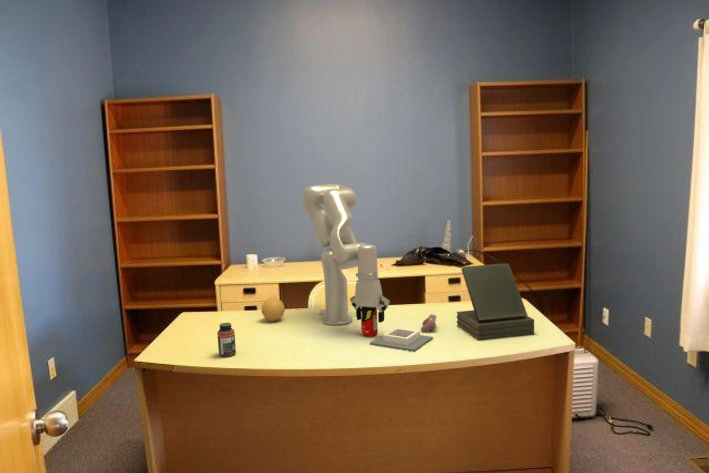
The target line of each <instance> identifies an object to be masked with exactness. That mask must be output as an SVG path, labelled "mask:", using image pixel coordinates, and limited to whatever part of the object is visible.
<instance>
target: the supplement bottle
mask: <svg viewBox="0 0 709 473" xmlns="http://www.w3.org/2000/svg"><path fill="white" fill-rule="evenodd" d="M216 334H217V345H218V355H219V356H220V357H221V358H231V357H233V356H235V355H236V354H237V350H236V347H237V346H236V334H235V330H234V328H232V323H231V322H221V323H220V324H219V330H217V333H216Z"/></svg>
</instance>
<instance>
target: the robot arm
mask: <svg viewBox="0 0 709 473" xmlns="http://www.w3.org/2000/svg"><path fill="white" fill-rule="evenodd" d="M357 202H358V198H357V195H356V193H355V191H354V190H353V189H351V188H350V187H347V186H345V185H341V184H337V183H336V184H335V183H334V184H315V185H314V184H313V185H310V186H307V187H305V189H304V190H303V192H302V204H303V208H304V210H305V212H306V214H307V215H308V217H309V219H310V222H311V223H312V226H313V229H314V233H315V236H316V238H317V242H318V244H319V245H320V246H321V247H323V248H328V249H325V250H324V251H323V252H322V254H321V257H320V262H321V266H322V270H323V280H324V292H325V293H324V295H325V296H324V298H325V299H324V300H325V309H320V311H319V313H318V314H319V315H320V316H323V318H322V323H323V324H324V325H328V326H343V325H347V324H350V323H351V322H353V317H352V316H350V315H349V303H348V302H349V301H350V303H351V306H352V307H353V308H354V310H355V316H356V321H361V308H362V307H372V308H375V307H376V308H377V323H382V322H384V321H385V311H386V310H387V309H388V307H389V305H390V302H391V300H390V299H388V298H386V297H385V296H384V295H383V290H382V285H381V281H380V279H379V271H378V270H379V269H378V255H377V254H378V253H377V247H376V245H374V244H370V243H369V244H368V243H366V242H358V241H357V238H356V235H355V233H354V231H353V229H352V227H351V224H352V223H353V221H354V218H353V216H352V213H351V211H350V209H353V208H355V207H356V205H357ZM322 205H324V207H325V208H324V207H323V206H322ZM355 268H357V272H356V273H355V277H356V278H357V280H356V283H355V291H354V295H353V296H350V298H349V296H348V281H347V277H346V275H345V274H344V273H343V271H342V270H348V269H355ZM348 298H349V299H348ZM348 300H349V301H348ZM383 303H384V304H383Z"/></svg>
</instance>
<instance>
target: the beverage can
mask: <svg viewBox="0 0 709 473" xmlns="http://www.w3.org/2000/svg"><path fill="white" fill-rule="evenodd" d="M360 322H361V323H360V325H361V326H360V327H361V328H360V329H361V334H362V335H363V336H364V337H367V338H371V337H372V338H373V337H375V336H377V334H378V332H379V330H378V329H379V328H378V326H379V325H378V309H377V308H376V307H375V308H372V307H361V319H360Z"/></svg>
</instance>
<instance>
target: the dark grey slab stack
mask: <svg viewBox="0 0 709 473" xmlns="http://www.w3.org/2000/svg"><path fill="white" fill-rule="evenodd" d="M461 273H462V275H463V276H462V277H463V279H464V281H465V286H466V288H467V292H468V295H469V299H470V301H471V305H472V308H473V309H472V310H462V311H456V319H457V321H456V324H457V327H458V328H459V329H460V330H463V331H464V332H465V333H467V334H468V335H469V336H471V337H472V338H474V339H475V340H476V341H487V340H495V339H497V340H498V339H505V338H506V339H507V338H514V337H515V338H516V337H524V336H534V335H535V319H534V318H532V317H531V316H528V312H527V309H526V306H525V304H524V301H523V299H522V296H521V294H520V289H519V288H518V285H517V283H516V281H515V277H514V274H513V271H512V269H511V266H510V264H509V263H508V262H507V263H505V262H504V263H495V264H493V263H492V264H482V265H469V266H467V265H466V266H462V267H461Z"/></svg>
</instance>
